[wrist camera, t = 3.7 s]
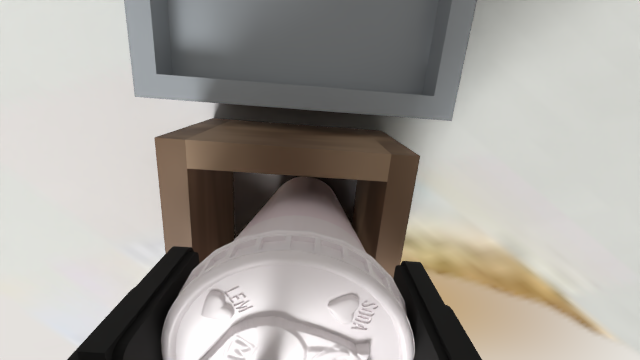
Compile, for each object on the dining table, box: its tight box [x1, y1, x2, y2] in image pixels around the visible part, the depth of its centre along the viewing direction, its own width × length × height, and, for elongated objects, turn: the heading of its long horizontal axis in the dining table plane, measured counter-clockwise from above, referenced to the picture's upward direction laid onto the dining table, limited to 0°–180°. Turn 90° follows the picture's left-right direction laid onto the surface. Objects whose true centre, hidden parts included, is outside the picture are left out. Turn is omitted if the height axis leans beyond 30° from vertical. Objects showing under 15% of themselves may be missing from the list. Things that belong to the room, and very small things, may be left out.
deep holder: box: [155, 118, 420, 278], centre depth 14 cm, size 9×9×6 cm
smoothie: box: [161, 177, 415, 360], centre depth 10 cm, size 6×6×14 cm
